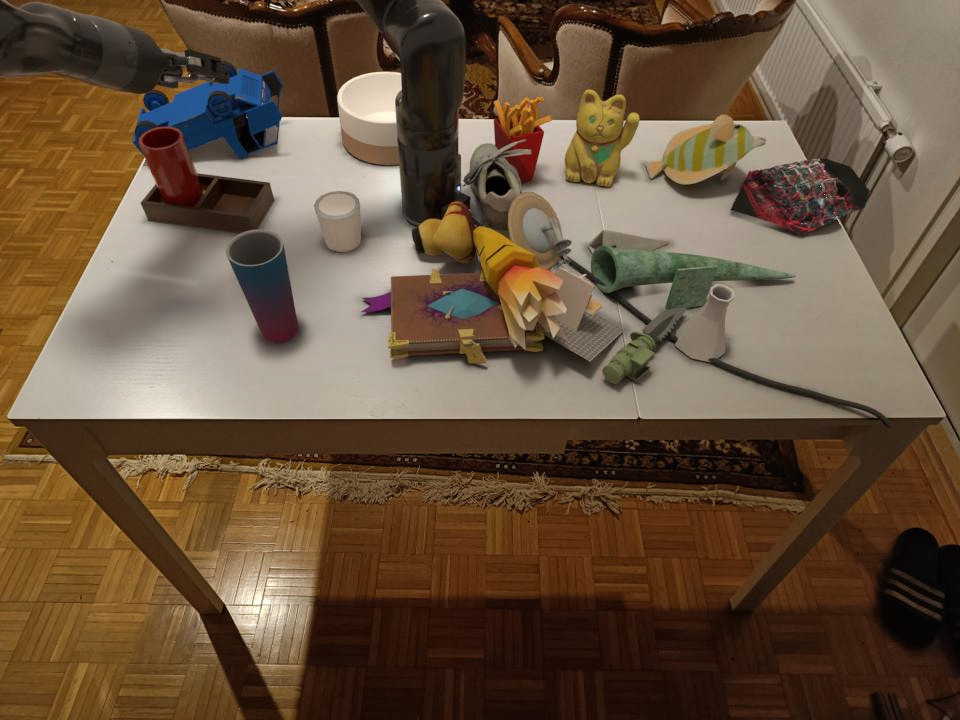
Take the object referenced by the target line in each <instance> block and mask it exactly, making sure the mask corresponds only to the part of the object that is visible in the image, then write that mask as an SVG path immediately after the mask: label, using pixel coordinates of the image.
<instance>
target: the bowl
mask: <svg viewBox="0 0 960 720" xmlns="http://www.w3.org/2000/svg"><path fill="white" fill-rule="evenodd" d="M401 90H402V86H401V72H398V71H397V72H395V71H376V72H369V73H363V74H360V75H357V76H354V77H352V78H351V79H349V80H348V81H346V82H345V83H343V85H341V87H340V88H339V89H338V93H337V95H336V99H337V100H336V101H337V109H338V118H339V125H340V134H341V141H342V144H343V146H344V148H345V149H346V150H347V152H348V153H350V154H351V155H352V156H353V157H355V158H357V159H358V160H361V161H364V162H366V163H369V164H376V165H384V166H397V165H399V155H398V141H397V127H396V113H395V98H396V96H397V94H398V93H399V92H400V91H401Z"/></svg>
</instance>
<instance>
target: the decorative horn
mask: <svg viewBox="0 0 960 720" xmlns="http://www.w3.org/2000/svg"><path fill="white" fill-rule="evenodd" d="M590 270H591V271H590V272H591V273H592V274H593V275H594V276H595V277H596V278H598V279H599V280H601V281H602V282H603V283H604V284H605V285H606V286H602V285H600V284H597V283H595V282H594V285H595V286H596V287H597V288H598V290H599V291H601V292H602V293H605V294H609V293H610V292H613V291H614V292H617V291H618V290H621V289H625V288H629V287H630V288H631V287H637V286H649V285H659V284H660V285H661V284H671V287H670V289H669V292H668V295H667V296H668V297H667V300H666V302H665V306H664V309H665V311H666V310H669V309H673V308H687V309H688V308H697V307H703V306H704V304H705V303H706V301H707V300H708V297H709V296H708V295H709V294H710V288H711V287H712V286H713V282H738V281H767V280H768V281H770V280H785V279H793V278H796V277H797V275H796V274H795V273H792V272H791V273H789V272H784V271H781V270H780V271H779V270H775V269H770V268H765V267H761V266H757V265H753V264H749V263H743V262H738V261H734V260H729V259H723V258H718V257H713V256H712V257H711V256H707V255H701V254H700V255H699V254H691V253H683V252H674V251H661V250H635V249H619V248H614V247H608V246H599V247H597V248H596V249H595V251H594V252H593V254H591V258H590Z"/></svg>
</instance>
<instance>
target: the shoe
mask: <svg viewBox="0 0 960 720" xmlns="http://www.w3.org/2000/svg"><path fill="white" fill-rule="evenodd" d="M524 141H526V139H525V140H521V141H518V142H513V143H511V144H509V145H507V146H505V147H503V148H501V149H500V150H498V149H497V147H496V146H495V143H491V142H489V143H488V142H485V143H481V144H480V145H478V146H477V147H476V148H475V149H474V151H473V152H472V154H471V157H470V161H469V171H468V172H467V173H466V175H465V176H464V177H463V179H462V182H463V183H464V185H463V186H462V187H463V188H464V187H465V186H471V188H472V191H473V193H474V194H475V196H476V197H477V198H479V201H480V207H481V211H482V215H483V218H484V223H483V227H486V228H490V229H492V230H494V231H496V232H498V233H500V234H502V235H503V236H505V237H506V238H508V239H509V240H510V241H511V239H510V234H509V229H508V212H509V209H510V206H511V203H512V201H513V200H514V199H515V198H516V196H517V195H519V194H521V193H522V190H523V189H522V188H523V187H522V183H521V181H520V178H519V175H518V172H517V170H516V168H515V167H514V166H513V165H511V164H509V163H508V162H507V160H506V159H505V158H504V157H510V156H516V155H523V154H531V150H528V149H516V150H511V151H507V152H504V151H505V150H507V149H509V148H511V147H513V146H515V145H516V144H518V143H521V142H524ZM502 152H504V153H502Z"/></svg>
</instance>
